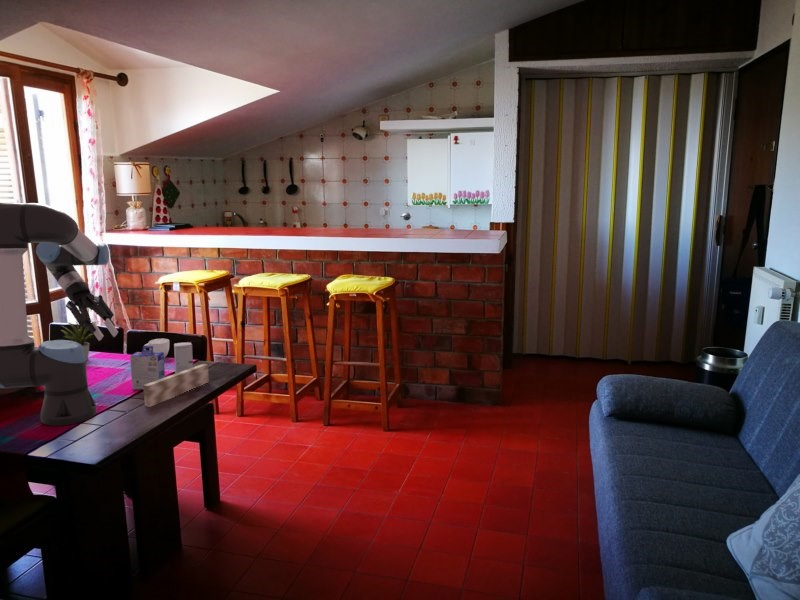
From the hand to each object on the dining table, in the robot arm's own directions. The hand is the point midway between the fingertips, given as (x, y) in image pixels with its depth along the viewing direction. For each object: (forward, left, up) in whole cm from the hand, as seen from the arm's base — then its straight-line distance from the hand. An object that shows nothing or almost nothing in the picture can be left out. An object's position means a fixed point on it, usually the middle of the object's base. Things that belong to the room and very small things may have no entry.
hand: (108, 336), depth 218 cm
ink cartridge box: (0, -19, -16) cm, 25 cm away
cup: (+26, +7, -16) cm, 31 cm away
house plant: (+11, +31, -16) cm, 36 cm away
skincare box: (+15, -20, -16) cm, 30 cm away
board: (0, -33, -16) cm, 37 cm away
